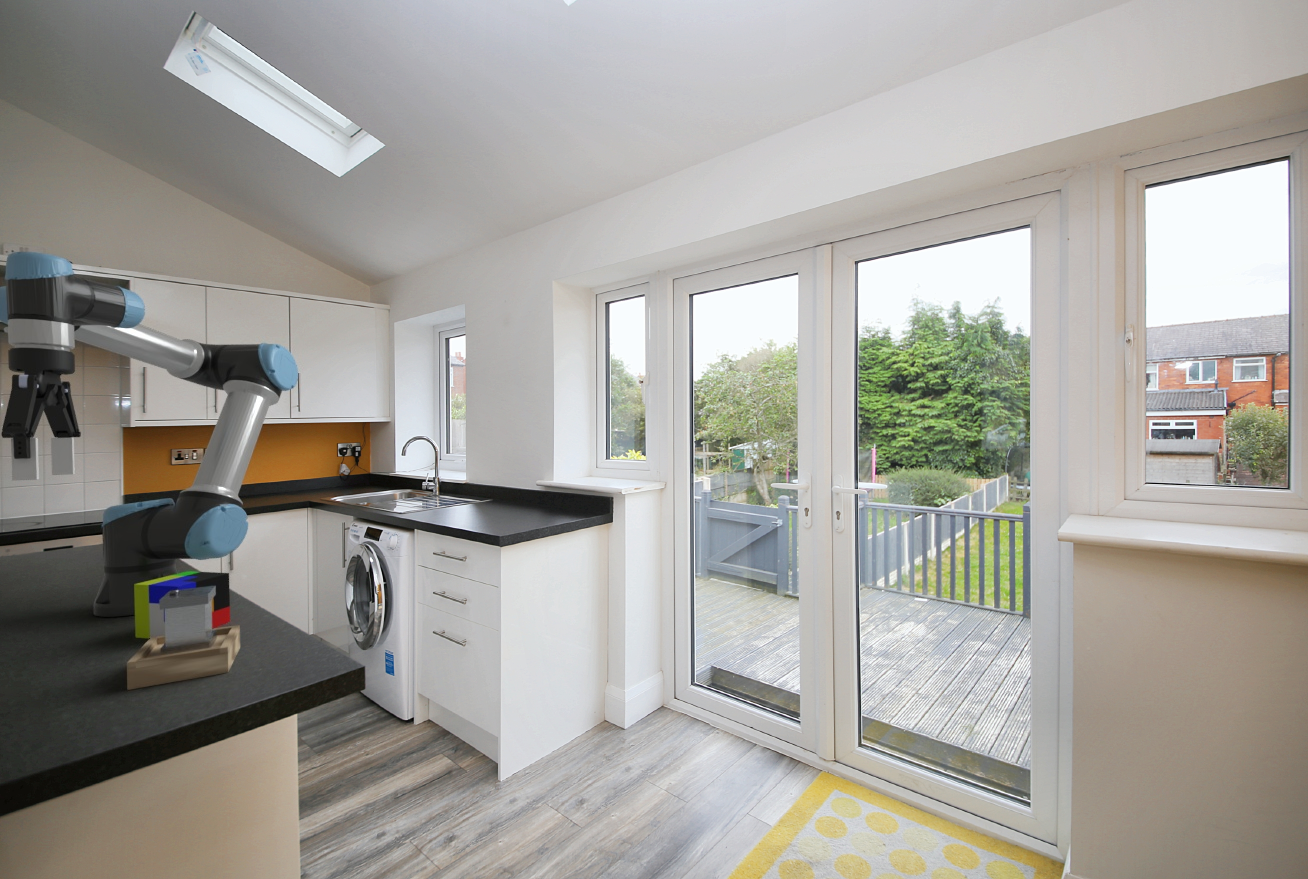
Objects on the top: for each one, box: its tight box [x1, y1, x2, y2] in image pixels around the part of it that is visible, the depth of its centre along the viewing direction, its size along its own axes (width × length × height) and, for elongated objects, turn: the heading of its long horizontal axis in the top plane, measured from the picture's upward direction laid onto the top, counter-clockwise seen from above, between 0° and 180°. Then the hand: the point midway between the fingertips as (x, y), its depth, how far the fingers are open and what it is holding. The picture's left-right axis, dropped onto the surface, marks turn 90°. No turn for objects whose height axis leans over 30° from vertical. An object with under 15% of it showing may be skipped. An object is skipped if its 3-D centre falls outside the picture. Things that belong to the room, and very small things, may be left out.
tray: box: [126, 624, 241, 691], centre depth 92 cm, size 12×12×4 cm
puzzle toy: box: [134, 570, 231, 639], centre depth 110 cm, size 10×10×10 cm
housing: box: [159, 586, 217, 656], centre depth 92 cm, size 6×6×10 cm
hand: (45, 477), depth 95 cm, fingers open, 13 cm apart
